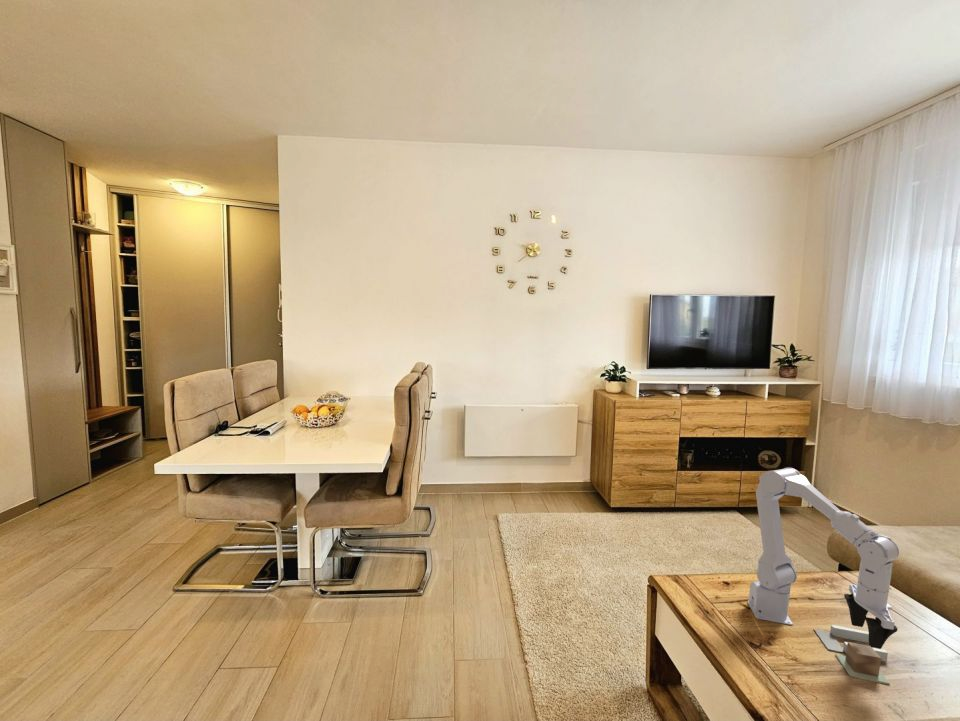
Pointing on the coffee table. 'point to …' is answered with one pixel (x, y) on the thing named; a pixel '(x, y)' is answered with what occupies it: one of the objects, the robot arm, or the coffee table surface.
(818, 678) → the coffee table surface
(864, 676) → the pad
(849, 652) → the block
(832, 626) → the channel
